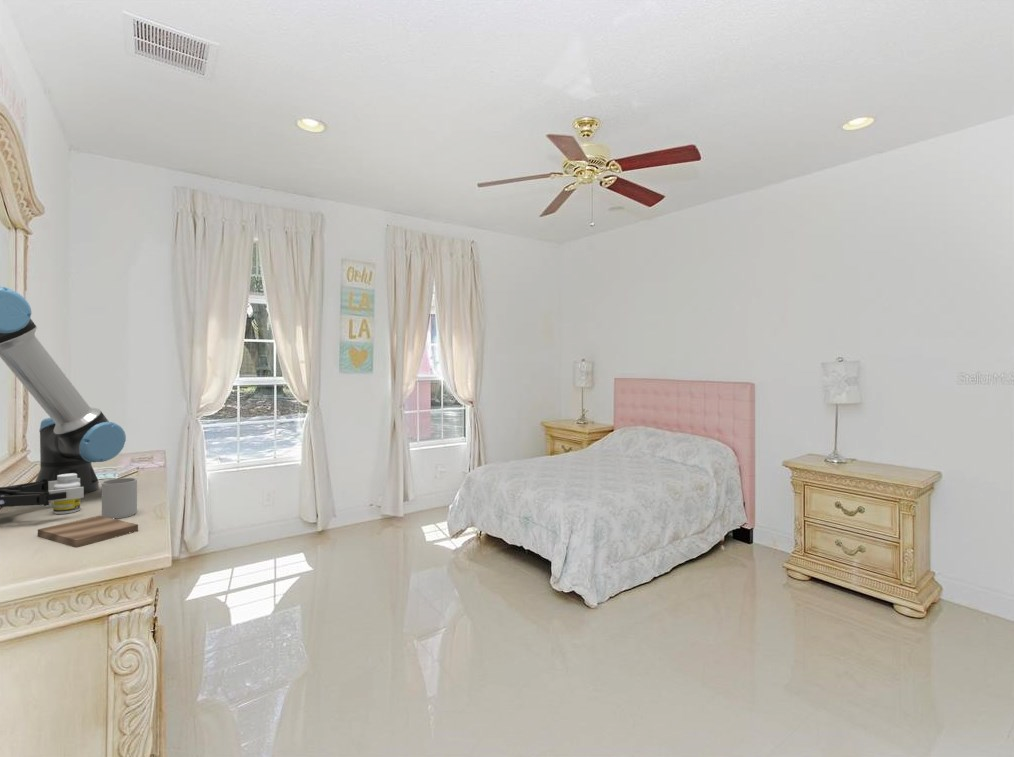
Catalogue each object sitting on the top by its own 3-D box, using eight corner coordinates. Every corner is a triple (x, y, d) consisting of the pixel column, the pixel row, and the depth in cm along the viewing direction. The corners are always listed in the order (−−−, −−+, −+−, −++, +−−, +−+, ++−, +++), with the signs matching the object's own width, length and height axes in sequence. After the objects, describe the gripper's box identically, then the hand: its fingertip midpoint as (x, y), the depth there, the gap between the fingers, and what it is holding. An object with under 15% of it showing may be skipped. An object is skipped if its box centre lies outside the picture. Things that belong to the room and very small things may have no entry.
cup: (102, 521, 124) (102, 485, 124) (100, 512, 131) (100, 478, 131) (138, 515, 129) (138, 481, 129) (134, 507, 136) (134, 475, 136)
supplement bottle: (79, 512, 131) (78, 475, 131) (51, 515, 128) (51, 477, 128) (81, 507, 135) (81, 471, 135) (55, 510, 132) (55, 474, 132)
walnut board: (37, 535, 113) (37, 529, 113) (99, 521, 124) (99, 515, 124) (76, 547, 106) (76, 540, 106) (138, 530, 117) (138, 524, 117)
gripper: (-30, 505, 128) (79, 492, 143) (-41, 529, 110) (85, 511, 125) (-30, 476, 128) (78, 466, 143) (-42, 495, 110) (85, 481, 124)
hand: (82, 487), depth 134 cm, fingers open, 13 cm apart
